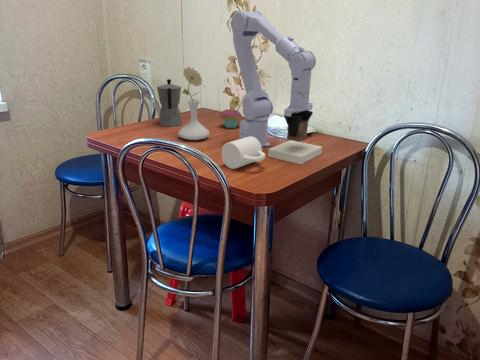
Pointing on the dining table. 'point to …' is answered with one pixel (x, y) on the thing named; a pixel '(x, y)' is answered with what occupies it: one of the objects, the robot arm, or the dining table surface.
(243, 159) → the mug
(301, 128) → the walnut block
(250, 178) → the dining table surface
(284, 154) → the cream plinth
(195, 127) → the flower in vase
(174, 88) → the coffeepot
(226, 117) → the cupcake
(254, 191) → the dining table surface
